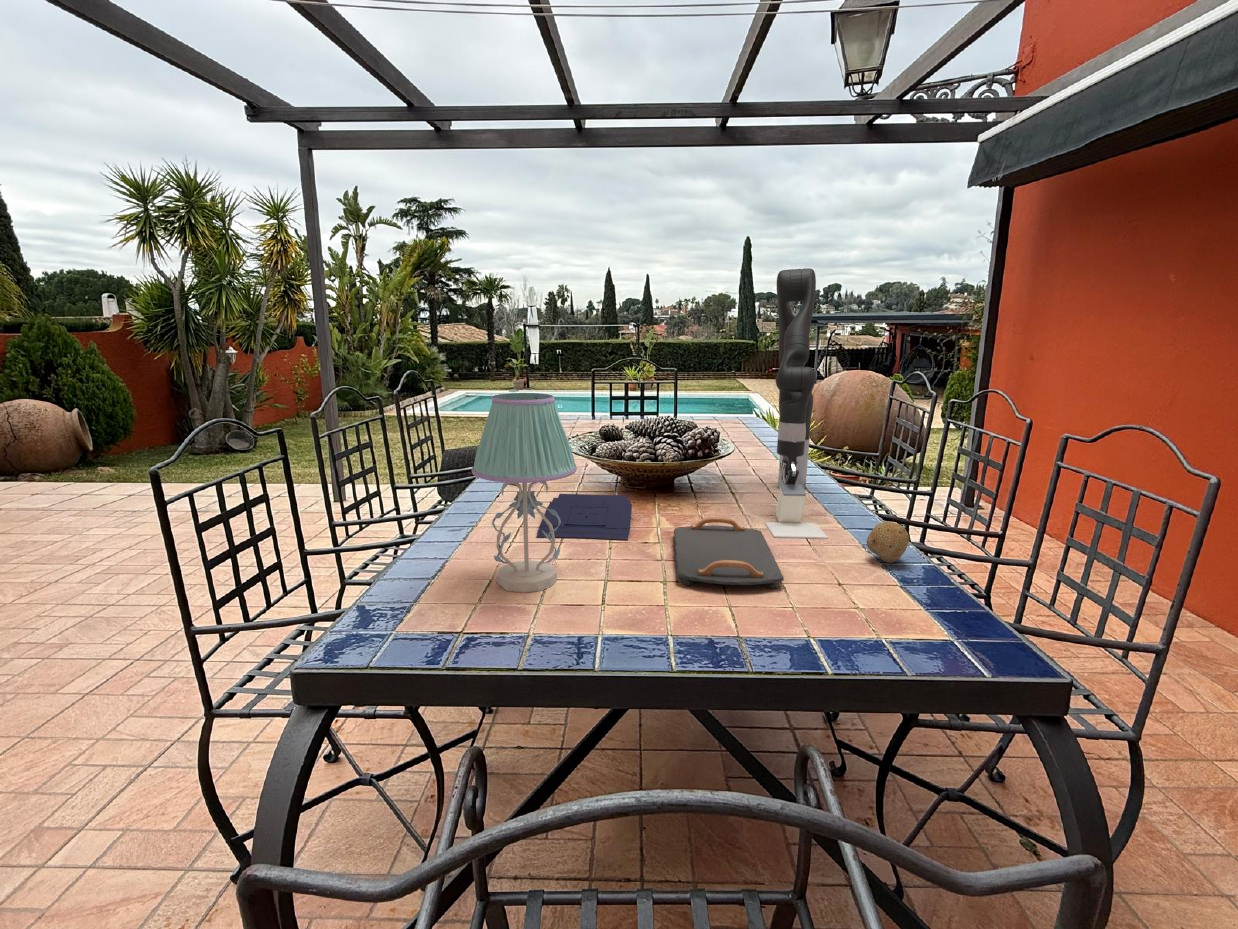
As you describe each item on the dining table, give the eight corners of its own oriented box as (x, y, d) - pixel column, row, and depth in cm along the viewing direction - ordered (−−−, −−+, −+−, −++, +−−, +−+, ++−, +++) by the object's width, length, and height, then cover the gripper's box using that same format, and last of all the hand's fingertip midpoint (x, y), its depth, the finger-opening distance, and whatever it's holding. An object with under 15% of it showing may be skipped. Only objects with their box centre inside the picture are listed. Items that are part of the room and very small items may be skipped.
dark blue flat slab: (633, 504, 194) (633, 492, 193) (628, 549, 166) (628, 536, 165) (553, 501, 195) (553, 490, 194) (535, 546, 167) (535, 533, 166)
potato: (865, 565, 150) (869, 525, 148) (864, 553, 158) (868, 514, 156) (907, 571, 147) (912, 529, 145) (904, 558, 155) (909, 518, 153)
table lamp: (569, 559, 152) (568, 390, 143) (584, 597, 131) (584, 402, 122) (475, 565, 147) (469, 391, 138) (475, 606, 126) (468, 403, 118)
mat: (765, 523, 180) (765, 522, 180) (815, 524, 180) (815, 523, 180) (774, 537, 169) (774, 536, 169) (827, 538, 168) (827, 537, 168)
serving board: (787, 597, 133) (789, 569, 132) (675, 593, 134) (676, 565, 133) (759, 536, 171) (760, 514, 169) (672, 534, 172) (672, 511, 171)
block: (775, 513, 185) (780, 484, 180) (796, 513, 185) (801, 484, 180) (779, 523, 181) (784, 493, 176) (800, 523, 181) (806, 494, 176)
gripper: (773, 434, 187) (769, 491, 191) (783, 441, 174) (778, 503, 178) (799, 434, 187) (794, 492, 190) (811, 442, 174) (806, 504, 177)
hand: (787, 497), depth 184 cm, fingers closed
